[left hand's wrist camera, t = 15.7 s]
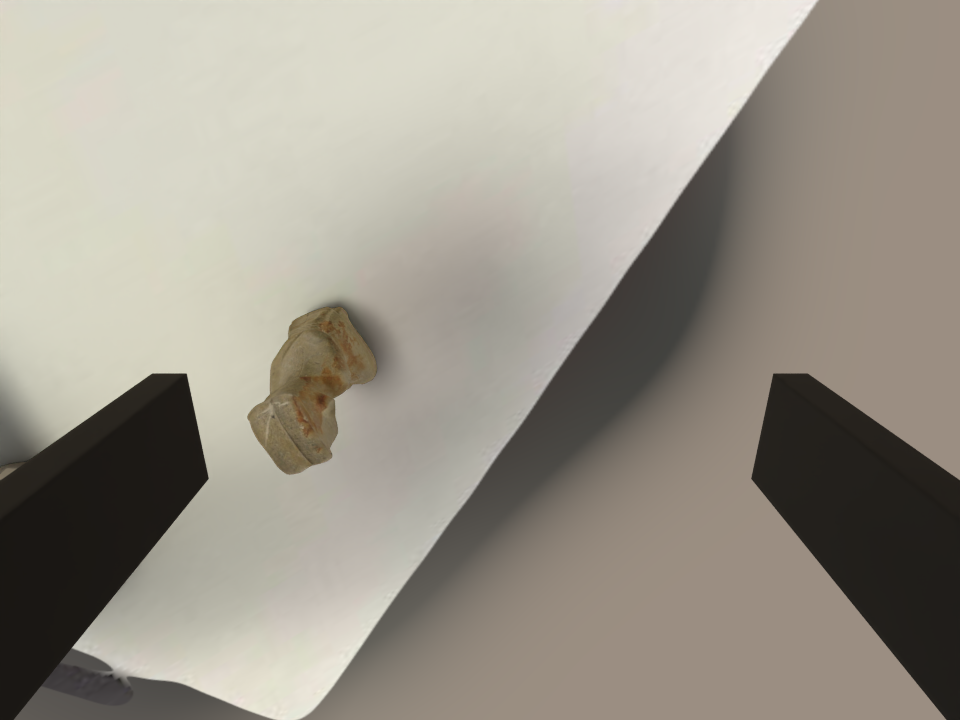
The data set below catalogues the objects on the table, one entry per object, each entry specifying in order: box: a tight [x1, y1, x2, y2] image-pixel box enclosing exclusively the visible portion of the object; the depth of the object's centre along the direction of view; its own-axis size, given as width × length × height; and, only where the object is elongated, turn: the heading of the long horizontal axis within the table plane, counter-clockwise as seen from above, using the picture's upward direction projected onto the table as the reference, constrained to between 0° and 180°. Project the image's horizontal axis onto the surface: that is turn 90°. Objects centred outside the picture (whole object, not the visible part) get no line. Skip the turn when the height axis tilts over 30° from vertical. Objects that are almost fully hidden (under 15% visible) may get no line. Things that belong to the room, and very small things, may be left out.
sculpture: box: [248, 307, 377, 475], centre depth 39 cm, size 6×7×15 cm
